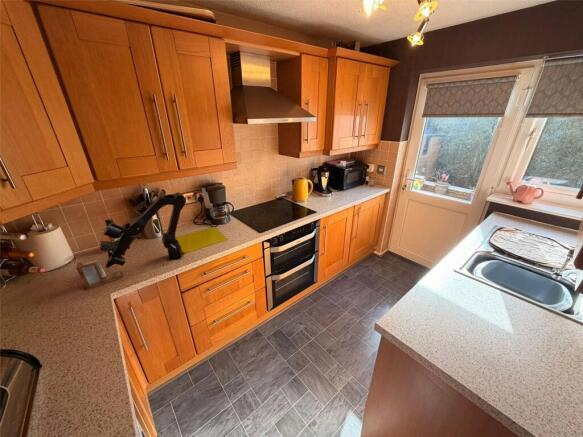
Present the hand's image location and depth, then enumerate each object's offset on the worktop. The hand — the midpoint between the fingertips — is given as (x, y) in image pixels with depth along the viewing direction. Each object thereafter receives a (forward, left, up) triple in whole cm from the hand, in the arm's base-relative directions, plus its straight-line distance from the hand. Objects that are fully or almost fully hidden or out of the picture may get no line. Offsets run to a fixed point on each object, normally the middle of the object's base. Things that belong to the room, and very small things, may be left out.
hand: (106, 267), depth 118 cm
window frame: (+2, +3, -6) cm, 7 cm away
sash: (+4, +2, -5) cm, 6 cm away
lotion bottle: (+13, -29, -7) cm, 32 cm away
